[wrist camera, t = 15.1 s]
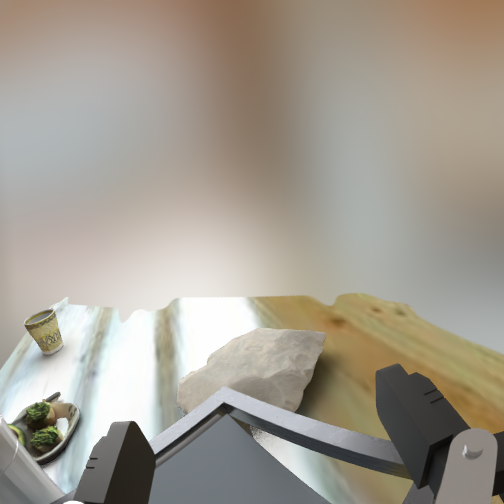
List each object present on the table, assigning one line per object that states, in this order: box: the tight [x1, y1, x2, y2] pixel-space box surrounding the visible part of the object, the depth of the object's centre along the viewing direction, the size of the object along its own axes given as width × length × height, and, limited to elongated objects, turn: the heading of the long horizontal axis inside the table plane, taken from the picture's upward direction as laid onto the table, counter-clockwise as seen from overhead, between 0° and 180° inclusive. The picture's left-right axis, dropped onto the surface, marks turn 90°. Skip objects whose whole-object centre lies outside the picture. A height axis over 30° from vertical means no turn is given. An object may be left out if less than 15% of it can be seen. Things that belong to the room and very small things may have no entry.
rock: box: [177, 328, 326, 414], centre depth 46 cm, size 19×7×25 cm
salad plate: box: [8, 392, 80, 465], centre depth 41 cm, size 19×18×5 cm
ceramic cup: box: [24, 309, 63, 355], centre depth 74 cm, size 13×10×10 cm
